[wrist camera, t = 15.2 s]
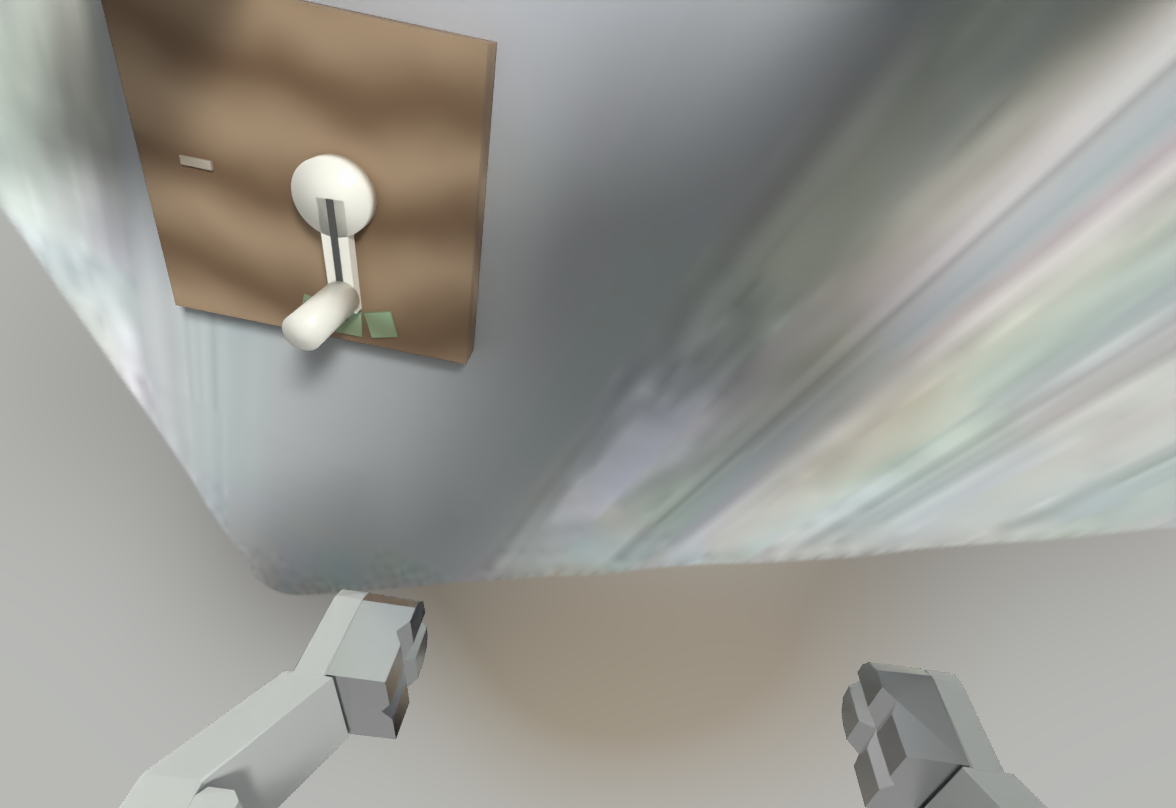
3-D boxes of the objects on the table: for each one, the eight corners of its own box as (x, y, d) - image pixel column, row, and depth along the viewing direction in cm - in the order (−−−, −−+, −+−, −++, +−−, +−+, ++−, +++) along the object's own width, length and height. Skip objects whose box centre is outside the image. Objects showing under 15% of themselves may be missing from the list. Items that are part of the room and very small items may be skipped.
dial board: (121, -39, 30) (87, -43, 29) (497, 42, 31) (487, 43, 29) (195, 293, 41) (173, 306, 39) (473, 350, 41) (465, 365, 40)
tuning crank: (296, 147, 33) (228, 172, 27) (373, 159, 32) (320, 186, 27) (320, 307, 38) (268, 352, 33) (386, 317, 38) (344, 364, 33)
